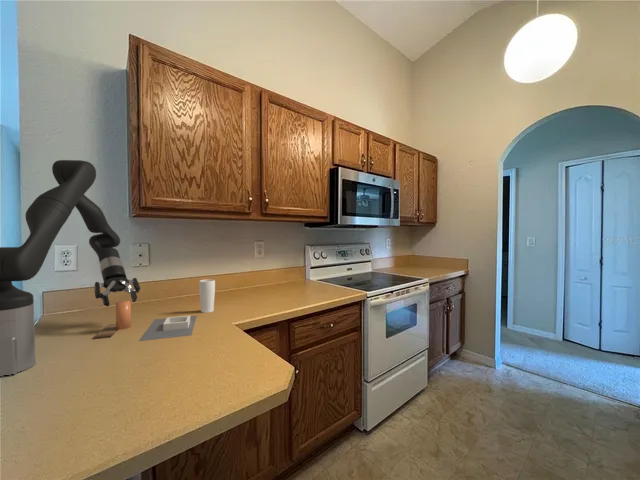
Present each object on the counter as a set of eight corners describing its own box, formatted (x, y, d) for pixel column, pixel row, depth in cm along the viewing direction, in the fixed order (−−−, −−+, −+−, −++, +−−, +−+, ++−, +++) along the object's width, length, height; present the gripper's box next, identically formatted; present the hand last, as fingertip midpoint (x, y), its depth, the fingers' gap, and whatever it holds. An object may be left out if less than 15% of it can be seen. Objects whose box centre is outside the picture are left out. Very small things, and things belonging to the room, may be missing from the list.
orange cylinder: (128, 329, 105) (128, 302, 104) (114, 330, 103) (113, 303, 103) (132, 325, 109) (132, 300, 109) (118, 326, 107) (118, 301, 107)
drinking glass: (196, 313, 126) (195, 281, 126) (208, 310, 132) (208, 278, 132) (206, 316, 123) (206, 282, 123) (218, 312, 129) (218, 279, 129)
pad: (140, 334, 102) (139, 332, 102) (93, 339, 97) (93, 337, 97) (149, 322, 115) (149, 320, 115) (108, 326, 110) (108, 324, 110)
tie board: (191, 338, 98) (191, 328, 98) (138, 344, 93) (138, 333, 93) (196, 317, 121) (196, 309, 121) (154, 321, 116) (154, 313, 115)
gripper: (92, 266, 107) (100, 300, 100) (134, 262, 118) (144, 294, 111) (89, 278, 111) (96, 312, 103) (131, 274, 121) (140, 305, 114)
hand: (121, 303), depth 107 cm, fingers open, 8 cm apart
